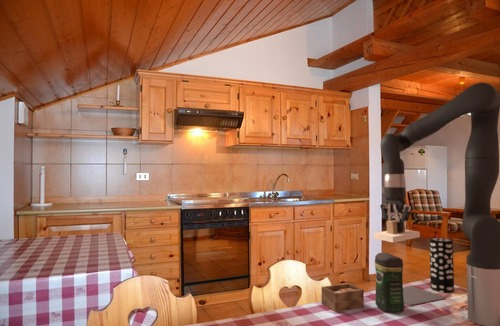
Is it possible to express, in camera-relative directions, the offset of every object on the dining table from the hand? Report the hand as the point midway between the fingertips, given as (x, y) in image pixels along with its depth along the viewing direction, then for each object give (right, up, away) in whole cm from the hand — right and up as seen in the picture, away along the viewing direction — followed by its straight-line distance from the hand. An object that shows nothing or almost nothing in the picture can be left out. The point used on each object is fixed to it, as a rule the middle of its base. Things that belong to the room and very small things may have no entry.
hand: (396, 231), depth 128 cm
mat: (+6, -25, +1) cm, 26 cm away
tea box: (-23, -24, -9) cm, 35 cm away
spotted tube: (+22, -25, +9) cm, 35 cm away
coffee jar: (-7, -24, -12) cm, 28 cm away
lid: (0, -2, 0) cm, 2 cm away
